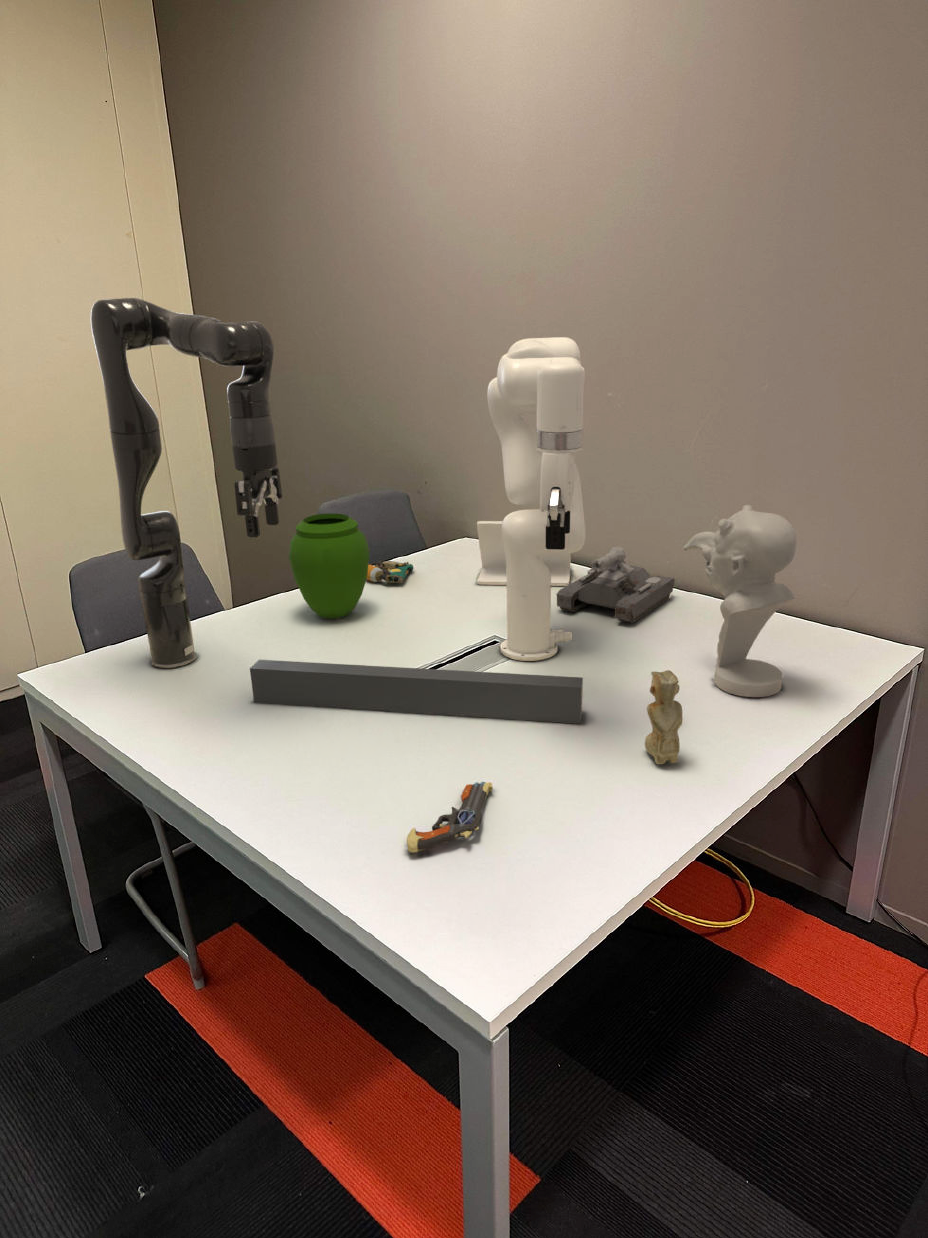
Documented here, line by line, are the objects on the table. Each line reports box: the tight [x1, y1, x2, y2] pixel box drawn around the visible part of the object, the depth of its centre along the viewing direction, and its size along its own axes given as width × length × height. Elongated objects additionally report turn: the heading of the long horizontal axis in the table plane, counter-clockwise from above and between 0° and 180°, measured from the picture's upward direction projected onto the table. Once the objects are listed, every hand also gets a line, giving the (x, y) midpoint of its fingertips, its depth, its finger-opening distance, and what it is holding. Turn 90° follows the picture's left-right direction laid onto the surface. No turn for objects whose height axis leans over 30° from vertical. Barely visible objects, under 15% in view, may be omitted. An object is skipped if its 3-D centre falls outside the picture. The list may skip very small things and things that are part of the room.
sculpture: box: [644, 669, 684, 765], centre depth 141 cm, size 6×7×15 cm
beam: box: [249, 659, 584, 725], centre depth 163 cm, size 64×4×7 cm, turn 79°
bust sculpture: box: [682, 504, 797, 698], centre depth 167 cm, size 16×24×35 cm, turn 28°
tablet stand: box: [476, 520, 572, 587], centre depth 236 cm, size 18×25×17 cm
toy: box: [556, 546, 676, 624], centre depth 212 cm, size 25×20×15 cm
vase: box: [288, 512, 370, 620], centre depth 209 cm, size 20×20×24 cm
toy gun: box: [406, 781, 494, 853], centre depth 127 cm, size 3×19×10 cm
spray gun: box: [366, 560, 414, 584], centre depth 240 cm, size 4×17×15 cm
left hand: (263, 530), depth 157 cm, fingers open, 8 cm apart
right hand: (558, 540), depth 147 cm, fingers open, 9 cm apart
